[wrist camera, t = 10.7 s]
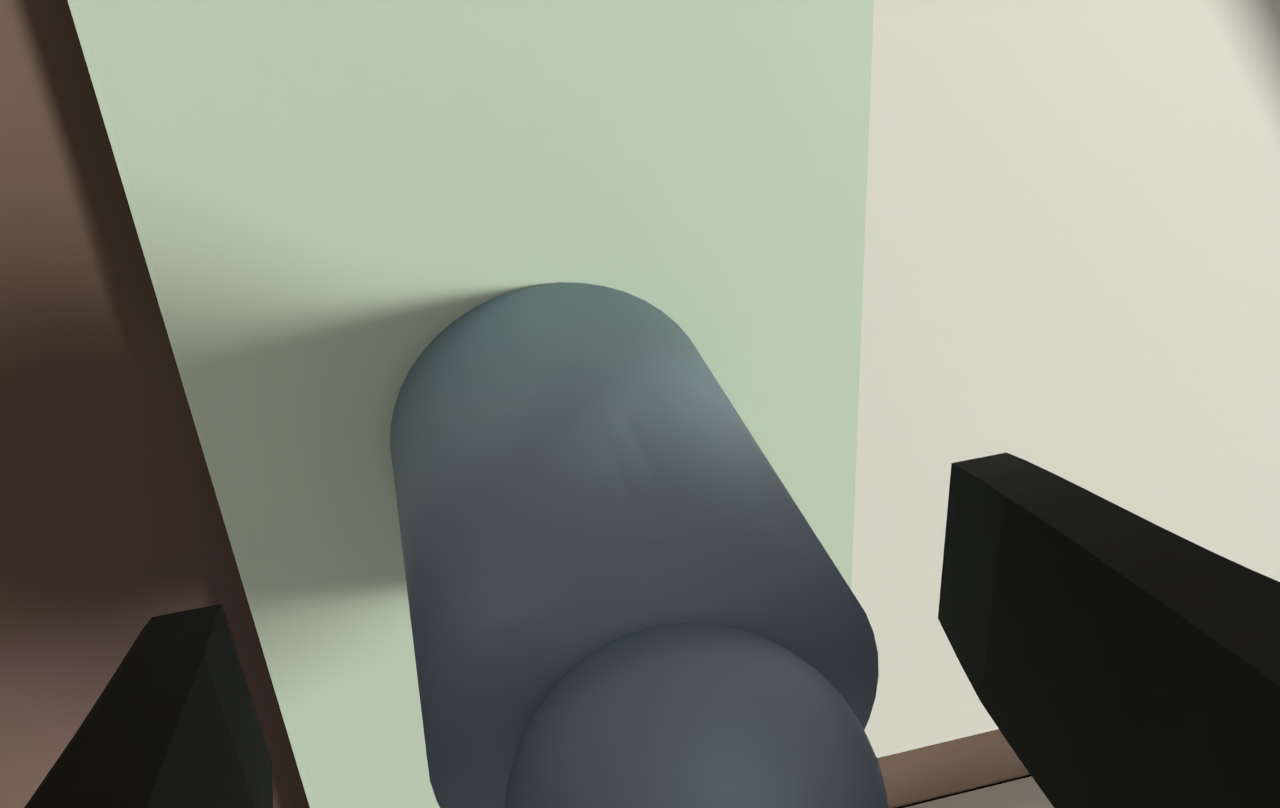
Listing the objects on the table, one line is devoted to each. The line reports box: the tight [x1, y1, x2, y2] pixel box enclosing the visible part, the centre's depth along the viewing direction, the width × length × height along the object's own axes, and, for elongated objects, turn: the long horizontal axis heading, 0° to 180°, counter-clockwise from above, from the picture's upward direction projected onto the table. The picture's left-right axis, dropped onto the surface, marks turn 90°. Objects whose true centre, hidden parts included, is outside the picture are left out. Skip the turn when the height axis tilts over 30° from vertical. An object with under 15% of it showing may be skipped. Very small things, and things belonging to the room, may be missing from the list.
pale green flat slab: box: [68, 0, 1280, 808], centre depth 15 cm, size 16×14×1 cm
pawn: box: [390, 283, 888, 808], centre depth 11 cm, size 4×4×8 cm
